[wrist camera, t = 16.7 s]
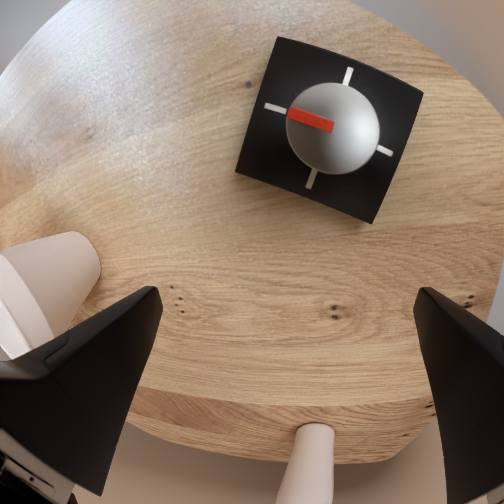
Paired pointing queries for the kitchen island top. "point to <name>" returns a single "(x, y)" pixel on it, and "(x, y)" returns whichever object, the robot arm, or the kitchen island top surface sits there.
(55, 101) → the kitchen island top surface
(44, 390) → the robot arm
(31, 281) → the cup
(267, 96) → the hob panel
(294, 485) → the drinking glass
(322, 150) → the hob knob
